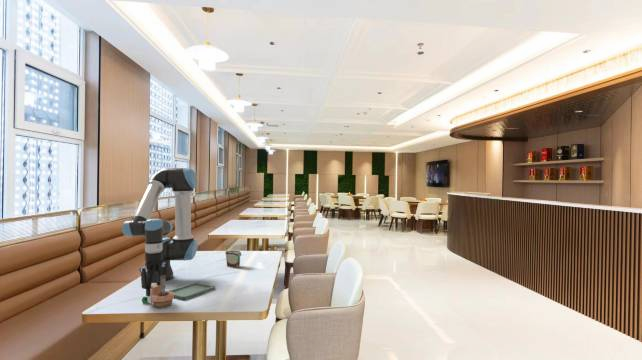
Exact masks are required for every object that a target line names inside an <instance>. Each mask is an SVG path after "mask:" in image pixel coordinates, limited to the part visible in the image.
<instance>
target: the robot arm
mask: <svg viewBox="0 0 642 360" xmlns="http://www.w3.org/2000/svg"><path fill="white" fill-rule="evenodd" d="M197 184H198V180H197V175H196V172H195V171H194V169H193V168H188V167H182V168H180V167H174V168H172V167H165V168H162V169H160V170H158V171H156V172H155V173H154V174H153V175H151V176H150V178H149V179H148V180H147V183H146V189H145V191H144V193H143V196H142V197H141V200H140V202H139V204H138V206H137V208H136V209H135V212H134V214H133V216H132V217H131V220H126V221H124V222H123V223H122V226H121V232H122V234H123V235H124V236H125V237H144V239H145V241H144V252H145V253H144V261H145V263H144V266H143V267H139V268H138V269H139V272H140V280H141V289H144V290H145V297H146V296H147V303H149V304H153V301H152V289H151V285H153V284H152V283H153V282H154V283H156V285H160V276H161V275H166V277H165V284H166V281H168V280H171V279H173V278H174V271H173V268H172V265H171V261H192V260H193V259H194V258H195V256H196V253H197V250H198V241H197V240H196V239H195V237H194V235H193V234H192V220H191V219H192V199H191V197H192V193H194V189H195V188H197ZM166 189H172V190H171V191H172V192H173V194H174V208H175V209H174V212H175V213H174V214H175V215H174V217H175V219H174V222H175V224H174V225H175V226H174V227H175V235H173V237H172V240H171V238H170V237H164V236H167V235H169V234H170V233H171V232H172V231H173V224H172V222H171V221H169V220H167V219H161V218H151V216H152V213H153V212H154V210H155V207H156V205H157V203H158V200H159V198H160V196H161V194H162V193H163V192H164V191H165V190H166Z"/></svg>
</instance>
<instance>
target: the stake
mask: <svg viewBox="0 0 642 360" xmlns="http://www.w3.org/2000/svg"><path fill="white" fill-rule="evenodd" d="M165 277H166V275H161V276H160V296H166V295H165V291H166V283H165ZM152 305H153V306H152V307H153V308H155V309H164V308H168V307H171V306H172V305H173V299H171V300H169V301H165V302H154V301H152Z"/></svg>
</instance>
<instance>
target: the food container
mask: <svg viewBox="0 0 642 360" xmlns="http://www.w3.org/2000/svg"><path fill="white" fill-rule="evenodd" d="M224 253H225V258H226V260H225V261H226V267H228V268H233V269H239V268H240V266H241V264H240V263H241V256H242V252H241V251H240V250H227V251H225V252H224Z"/></svg>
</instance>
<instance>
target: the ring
mask: <svg viewBox="0 0 642 360" xmlns="http://www.w3.org/2000/svg"><path fill="white" fill-rule="evenodd" d="M151 289H152V302H153V301H154V302H165V301H169V300H171V299H172V300H173V299H175V298H174V292H171V291H169V290H167V291H166V290H165V295H166V296H160V285H157V284H151Z"/></svg>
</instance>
